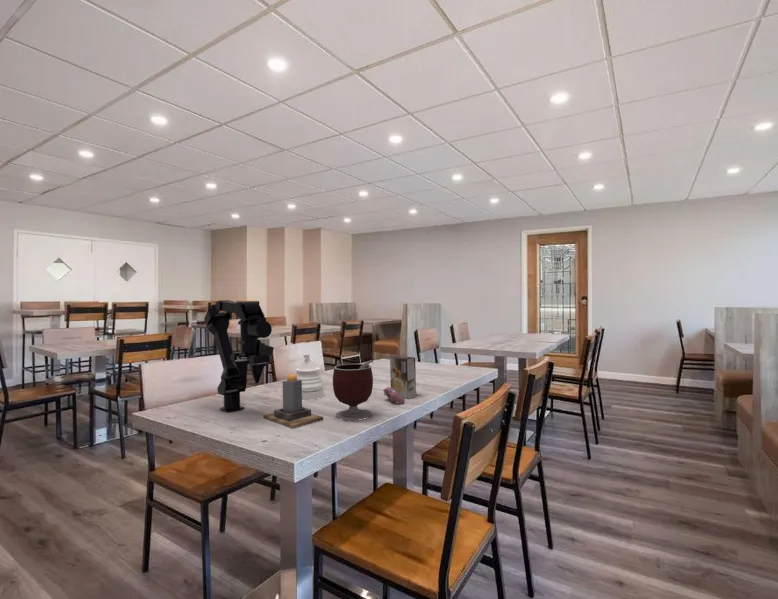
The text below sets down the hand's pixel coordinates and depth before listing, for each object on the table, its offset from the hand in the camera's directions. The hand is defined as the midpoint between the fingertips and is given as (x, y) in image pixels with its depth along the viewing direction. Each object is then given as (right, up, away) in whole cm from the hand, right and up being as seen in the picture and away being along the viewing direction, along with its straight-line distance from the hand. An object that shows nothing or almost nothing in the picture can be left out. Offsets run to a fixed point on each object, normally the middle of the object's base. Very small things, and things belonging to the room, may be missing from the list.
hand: (250, 381), depth 143 cm
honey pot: (+15, -12, +27) cm, 33 cm away
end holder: (+16, -12, -4) cm, 20 cm away
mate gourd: (+37, -12, -2) cm, 39 cm away
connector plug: (+16, -11, -4) cm, 19 cm away
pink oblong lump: (+50, -12, +17) cm, 54 cm away
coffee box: (+54, -11, +26) cm, 61 cm away
